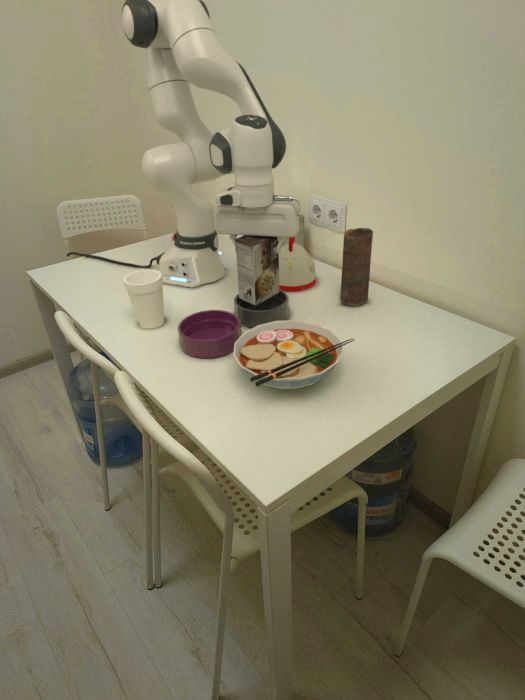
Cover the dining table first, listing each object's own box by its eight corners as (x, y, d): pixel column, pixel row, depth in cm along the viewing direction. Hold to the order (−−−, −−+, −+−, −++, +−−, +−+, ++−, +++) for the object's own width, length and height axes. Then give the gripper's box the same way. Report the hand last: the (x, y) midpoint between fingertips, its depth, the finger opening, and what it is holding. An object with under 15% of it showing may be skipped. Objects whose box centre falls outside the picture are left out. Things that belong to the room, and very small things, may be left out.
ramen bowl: (303, 335, 117) (303, 305, 112) (368, 380, 100) (371, 347, 96) (212, 370, 106) (208, 339, 102) (269, 427, 89) (267, 393, 85)
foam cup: (134, 334, 121) (123, 287, 114) (132, 317, 129) (122, 272, 122) (171, 327, 123) (163, 281, 116) (168, 311, 131) (160, 267, 124)
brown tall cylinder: (367, 309, 126) (372, 236, 115) (339, 308, 128) (342, 235, 117) (367, 296, 132) (373, 225, 122) (341, 295, 134) (344, 225, 123)
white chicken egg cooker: (266, 291, 139) (263, 241, 130) (272, 271, 150) (270, 224, 142) (314, 292, 136) (314, 241, 128) (317, 272, 148) (317, 224, 140)
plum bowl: (171, 356, 112) (167, 338, 109) (193, 325, 124) (191, 307, 121) (231, 362, 108) (229, 343, 106) (248, 329, 121) (247, 311, 118)
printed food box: (262, 285, 128) (260, 227, 119) (279, 293, 125) (279, 233, 116) (237, 298, 123) (234, 238, 114) (255, 306, 119) (253, 245, 110)
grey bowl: (229, 326, 122) (227, 309, 119) (243, 301, 134) (242, 285, 131) (282, 331, 119) (282, 313, 116) (293, 305, 130) (292, 288, 128)
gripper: (302, 192, 110) (301, 249, 117) (217, 189, 114) (222, 245, 122) (297, 200, 105) (297, 259, 112) (208, 197, 109) (214, 254, 117)
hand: (257, 251), depth 117 cm, fingers closed on printed food box, 8 cm apart
